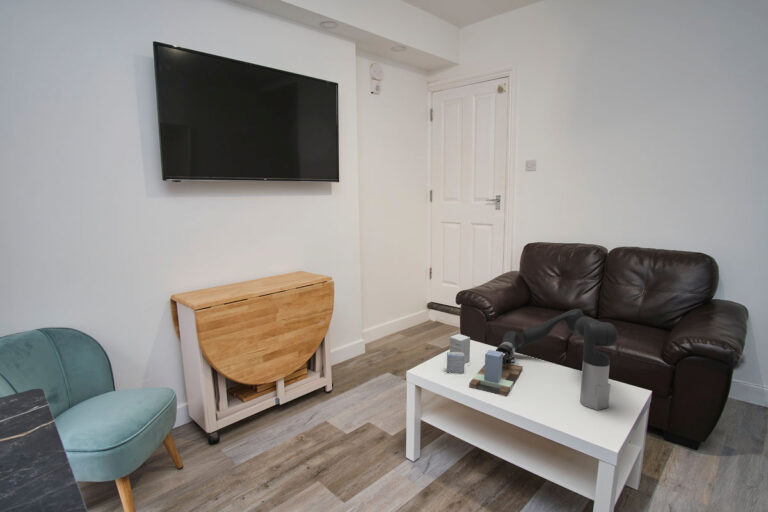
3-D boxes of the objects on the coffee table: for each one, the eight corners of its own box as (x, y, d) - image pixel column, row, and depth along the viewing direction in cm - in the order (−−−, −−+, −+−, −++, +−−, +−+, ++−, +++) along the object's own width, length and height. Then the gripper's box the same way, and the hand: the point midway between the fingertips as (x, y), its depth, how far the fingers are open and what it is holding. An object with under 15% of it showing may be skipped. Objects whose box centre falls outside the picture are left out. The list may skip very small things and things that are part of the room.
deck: (488, 363, 198) (488, 359, 198) (522, 370, 190) (522, 366, 190) (469, 387, 172) (469, 382, 172) (507, 396, 164) (507, 391, 164)
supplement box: (458, 357, 206) (459, 333, 204) (469, 361, 200) (470, 337, 198) (448, 360, 201) (449, 336, 199) (460, 365, 195) (461, 340, 194)
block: (488, 375, 179) (489, 349, 178) (501, 378, 176) (502, 352, 175) (484, 380, 174) (485, 354, 173) (498, 383, 171) (499, 356, 170)
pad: (477, 377, 182) (477, 373, 181) (513, 385, 174) (513, 381, 173) (472, 382, 176) (473, 378, 176) (509, 391, 169) (510, 387, 168)
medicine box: (463, 369, 190) (463, 352, 189) (464, 373, 186) (464, 355, 185) (446, 369, 191) (446, 351, 190) (447, 372, 187) (447, 355, 186)
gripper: (491, 341, 195) (481, 353, 180) (520, 346, 188) (511, 358, 173) (491, 356, 196) (480, 368, 181) (519, 362, 189) (510, 375, 174)
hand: (495, 364), depth 177 cm, fingers closed
